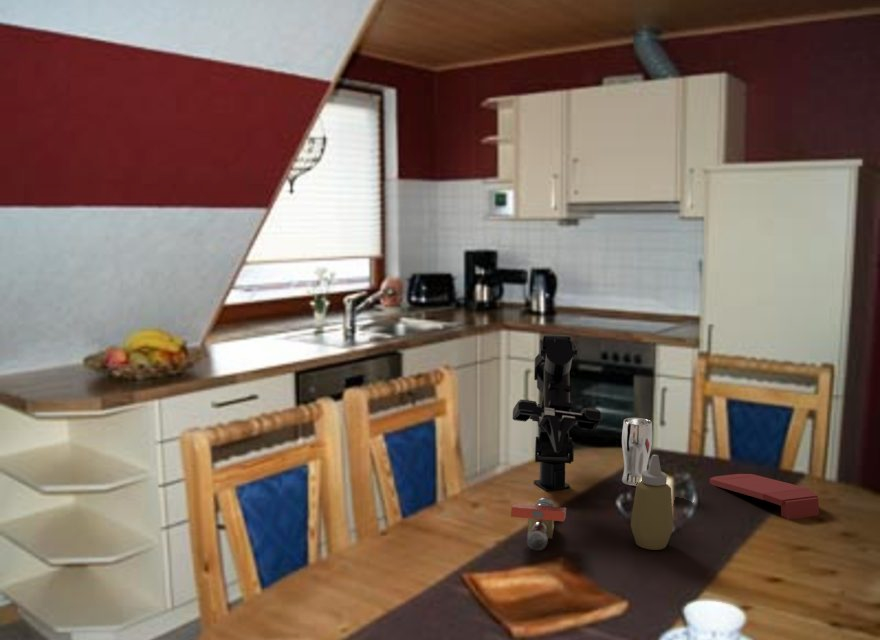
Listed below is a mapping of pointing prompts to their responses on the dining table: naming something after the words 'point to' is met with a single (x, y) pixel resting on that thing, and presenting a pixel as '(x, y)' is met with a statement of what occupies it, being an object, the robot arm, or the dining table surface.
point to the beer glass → (635, 448)
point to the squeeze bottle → (652, 509)
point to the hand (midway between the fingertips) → (557, 451)
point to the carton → (773, 493)
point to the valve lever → (538, 512)
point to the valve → (540, 529)
